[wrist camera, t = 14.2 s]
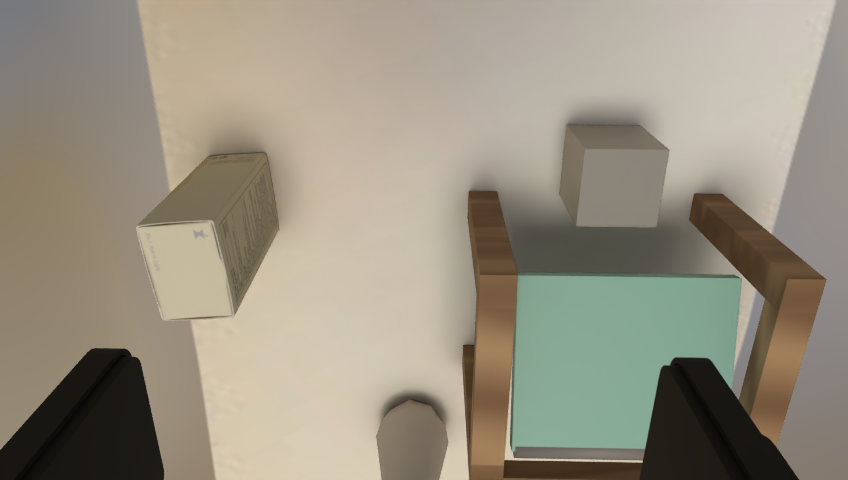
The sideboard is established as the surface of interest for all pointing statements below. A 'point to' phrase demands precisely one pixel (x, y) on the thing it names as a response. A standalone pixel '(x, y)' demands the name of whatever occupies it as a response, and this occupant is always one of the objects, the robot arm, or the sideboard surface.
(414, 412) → the salt shaker
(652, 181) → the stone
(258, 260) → the skincare box
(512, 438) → the trapdoor
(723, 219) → the frame
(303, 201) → the sideboard surface
